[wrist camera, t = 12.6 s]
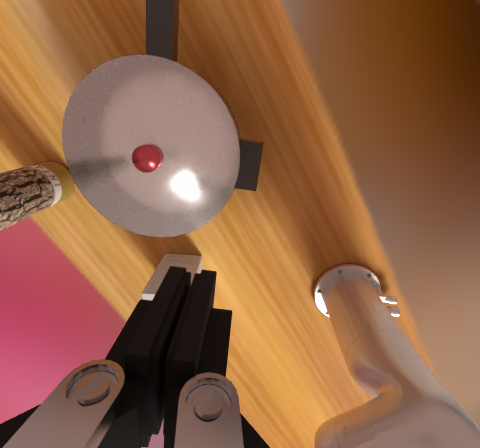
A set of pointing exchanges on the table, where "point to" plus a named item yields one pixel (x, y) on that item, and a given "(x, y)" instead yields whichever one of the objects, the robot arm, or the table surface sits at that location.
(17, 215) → the brown cylindrical piece
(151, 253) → the table surface
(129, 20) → the table surface
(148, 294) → the supplement box
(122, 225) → the cooker lid
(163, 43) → the pressure cooker pot
